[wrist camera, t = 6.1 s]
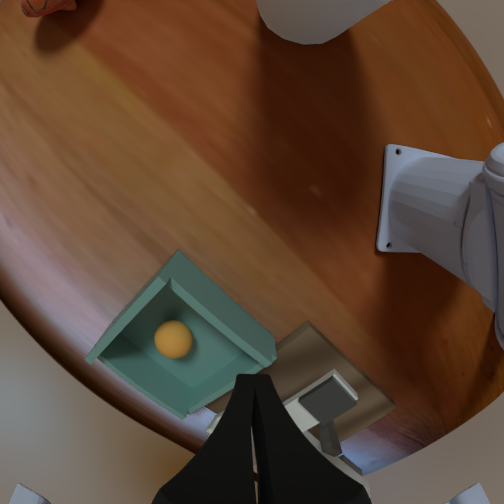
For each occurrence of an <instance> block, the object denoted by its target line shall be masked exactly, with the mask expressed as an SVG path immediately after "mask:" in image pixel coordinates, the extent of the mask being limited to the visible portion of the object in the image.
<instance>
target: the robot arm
mask: <svg viewBox="0 0 504 504" xmlns="http://www.w3.org/2000/svg"><path fill="white" fill-rule="evenodd" d="M396 149H398V150H399V154H398V155H397V154H396ZM389 242H390V246H389V247H386V245H387V243H389ZM376 247H377V249H378V250H379V251H381V252H414V253H422V254H423V255H425V256H427V257H428V258H430V259H431V260H433V261H434V262H436V263H437V264H439V265H440V266H442V267H443V268H445V269H446V270H448V271H449V272H451V273H452V274H454V275H455V276H456V277H458V278H459V279H461V280H462V281H464V282H465V283H466V284H468V285H469V286H471V287H472V288H474V289H475V290H476V291H478V292H479V293H480V294H481V296H482V299H483V304H484V305H486V306H487V307H488V308H489V309H491V310H492V311H493V312H494V313H495V333H496V336H497V340H498V342H499V344H500V346H501V347H502V348H503V350H504V142H503V143H501V144H499V145H498V146H496V147H495V148H494V149H493V150H492V151H491V153H490V155H489V157H488V158H487V159H486V160H485V162H482V161H473V160H464V159H456V158H452V157H448V156H444V155H440V154H436V153H432V152H428V151H424V150H419V149H415V148H410V147H405V146H400V145H395V144H388V145H387V146H386V147H385V156H384V174H383V188H382V199H381V209H380V218H379V227H378V234H377V242H376ZM251 426H252V435H253V442H254V450H255V457H256V465H257V483H258V504H372V503H371V500H370V497H369V495H368V493H367V491H366V489H365V487H364V486H363V485H362V484H360V483H359V482H357V481H356V480H354V479H352V478H351V477H350V476H348V475H347V474H345V473H344V472H343V471H341V470H340V469H339V468H337V467H336V466H335V465H334V464H332V463H331V462H330V461H329V460H328V459H327V458H326V457H325V456H324V455H322V454H321V453H320V452H319V451H318V450H317V449H316V448H315V447H314V446H313V445H312V443H311V442H310V441H309V440H308V439H307V438H306V437H305V435H304V434H303V433H302V432H301V430H300V429H299V428H298V426H297V425H296V423H295V422H294V421H293V419H292V418H291V416H290V415H289V413H288V411H287V410H286V408H285V406H284V404H283V403H282V401H281V399H280V397H279V395H278V393H277V391H276V389H275V387H274V384H273V382H272V379H271V376H270V375H269V374H238V375H236V381H235V385H234V389H233V392H232V394H231V397H230V399H229V402H228V404H227V406H226V409H225V411H224V413H223V414H222V416H221V418H220V420H219V422H218V424H217V425H216V427H215V429H214V430H213V432H212V433H211V435H210V436H209V438H208V439H207V441H206V442H205V443H204V445H203V446H202V447H201V449H200V450H199V451H198V452H197V454H196V455H195V456H194V457H193V458H192V459H191V460H190V461H189V462H188V463H187V465H186V466H185V467H184V468H183V469H182V470H181V471H180V472H179V473H178V474H176V475H175V476H174V477H173V478H172V479H171V480H170V481H168V482H167V483H166V484H165V485H163V486H162V487H161V488H160V489H159V491H158V492H157V494H156V496H155V498H154V499H153V501H152V504H257V503H256V493H255V483H254V469H253V454H252V435H251ZM9 504H51V503H50V502H49V501H48V500H47V499H45V498H44V497H43V496H41V495H39V494H38V493H36V492H34V491H32V490H30V489H29V488H27V487H25V486H24V485H22V484H21V483H18V485H17V487H16V489H15V491H14V493H13V496H12V498H11V500H10V503H9ZM445 504H490V502H489V500H488V498H487V496H486V494H485V492H484V490H483V488H482V486H481V484H480V483H479V482H477V483H476V484H474V485H472V486H471V487H469V488H467V489H465V490H464V491H462V492H460V493H459V494H457V495H456V496H455V497H453V498H452V499H451V500H450V501H449V502H447V503H445Z"/></svg>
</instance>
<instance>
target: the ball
mask: <svg viewBox="0 0 504 504" xmlns="http://www.w3.org/2000/svg"><path fill="white" fill-rule="evenodd" d="M154 341H155V345H156V348H157V349H158V351H159V352H160V353H161V354H162V355H164V356H165V357H168V358H172V359H177V358H181V357H183V356H185V355H186V354H187V353H188V352H189V351H190V350H191V348H192V345H193V336H192V333H191V331H190V329H189V328H188V327H187V326H186V325H185V324H184V323H182V322H180V321H176V320H170V321H166V322H164V323H162V324H161V325H160V326H159V327H158V328H157V330H156V332H155V336H154Z"/></svg>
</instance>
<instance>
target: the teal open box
mask: <svg viewBox="0 0 504 504" xmlns="http://www.w3.org/2000/svg"><path fill="white" fill-rule="evenodd" d="M170 320H176V321H180V322H182V323H184V324H185V325H186V326H187V327H188V328H189V329H190V331H191V333H192V336H193V345H192V348H191V350H190V351H189V352H188V353H187V354H186V355H185V356H183V357H181V358H177V359H172V358H168V357H165V356H164V355H162V354H161V353H160V352H159V351H158V349H157V348H156V345H155V341H154V336H155V332H156V330H157V328H158V327H159V326H160V325H161V324H162V323H164V322H166V321H170ZM96 358H98V359H99V360H100V361H101V362H102V363H103V364H105V365H106V366H107V367H108V368H110V369H111V370H112V371H113V372H115V373H116V374H117V375H118V376H120V377H121V378H122V379H123V380H125V381H126V382H127V383H129V384H130V385H131V386H133V387H134V388H135V389H137V390H138V391H140V392H141V393H142V394H144V395H145V396H147V397H148V398H150V399H151V400H152V401H154V402H155V403H157V404H158V405H160V406H161V407H163V408H164V409H166V410H168V411H169V412H171V413H172V414H174V415H175V416H177V417H179V418H180V419H184V418H186V416H187V414H189V415H190V414H191V413H193V412H195V411H197V410H198V409H200V408H202V407H203V406H205V405H207V404H208V403H210V402H212V401H213V400H215V399H217V398H218V397H220V396H222V395H223V394H225V393H226V392H228V391H230V390H231V389H233V388H234V385H235V381H236V375H238V374H256V373H257V372H259V371H260V370H262V369H263V368H264V367H268V366H269V365H271V364H272V362H273V361H275V360H276V359H277V355H276V348H275V340H274V335H273V334H271V333H270V332H269V331H268V330H267V329H266V328H264V327H263V326H262V325H261V324H260V323H259V322H258V321H256V320H255V319H254V318H253V317H252V316H251V315H250V314H248V313H247V312H246V311H245V310H244V309H243V308H242V307H241V306H239V305H238V304H237V303H236V302H235V301H234V300H233V299H232V298H230V297H229V296H228V295H227V294H226V293H225V292H224V291H223V290H222V289H221V288H219V287H218V286H217V285H216V284H215V283H214V282H213V281H212V280H211V279H210V278H209V277H208V276H206V275H205V274H204V273H203V272H202V271H201V270H200V269H199V268H198V267H197V266H196V265H195V264H194V263H193V262H191V261H190V260H189V259H188V258H187V257H186V256H185V255H184V254H183V253H182V252H181V251H180V250H179V249H178V250H177V251H176V252H175V253H174V254H173V256H172V257H171V258H170V259H169V260H168V261H167V262H166V263H165V264H164V265H163V266H162V267H161V268H160V269H159V270H158V271H157V273H156V274H155V275H154V276H153V277H152V278H151V279H150V280H149V281H148V282H147V283H146V284H145V286H144V287H143V288H142V289H141V290H140V291H139V292H138V293H137V294H136V295H135V297H134V298H133V299H132V300H131V301H130V302H129V303H128V304H127V306H126V307H125V308H124V309H123V310H122V311H121V312H120V313H119V315H118V316H117V317H116V318H115V319H114V320H113V321H112V323H111V324H110V325H109V326H108V328H107V329H106V330H105V332H104V333H103V334H102V336H101V337H100V338H99V340H98V341H97V343H96V344H95V345H94V347H93V348H92V350H91V351H90V352H89V354H88V355H87V357H86V358H85V360H86V361H87V362H88V363H89V364H92V362H93V361H94V360H95V359H96Z"/></svg>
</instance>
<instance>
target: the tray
mask: <svg viewBox="0 0 504 504" xmlns="http://www.w3.org/2000/svg"><path fill="white" fill-rule="evenodd" d="M357 399H358V395H357V393H356V392H355V391H354V389H353V388H352V387H351V386H350V385H349V384H348V383H347V382H346V381H345V380H344V378H343V377H342V376H341V375H340V374H339V373H338V372H337V371H336V370H335V369H333V370H331V371H330V372H329V373H327V374H326V375H324V376H323V377H321V378H320V379H318V380H317V381H315V382H314V383H312V384H311V385H309V386H308V387H306V388H305V389H303V390H302V391H300V392H299V393H297V394H295V395H294V396H292V397H291V398H289V399H287V400H286V401H284V402H282V403H283V404H284V406H285V408H286V410H287V411H288V413H289V415H290V416H291V418H292V419H293V421H294V422H295V423H296V425H297V426H298V428H299V429H300V430H301V432H302V433H303V434H304V435H305V437H306V438H307V439H308V440H309V441H310V442H311V443H312V445H313V446H314V447H315V448H316V449H317V450H318V451H319V452H320V453H321V454H322V455H324V456H325V457H326V458H327V459H328V460H329V461H330V462H331V463H332V464H334V465H335V466H336V467H337V468H339V469H340V470H341V471H343V472H344V473H345V474H347V475H348V476H350V477H351V478H352V479H354V480H356V481H357V482H359V483H360V484H362V485H363V486H364V487H365V489H366V491H367V493H368V495H369V497H371V496H370V486H369V482H368V481H367V480H366V479H364V478H363V477H362V470H361V469H360V468H359V467H357V466H356V465H355V464H354V463H353V462H351V461H350V460H349V459H348V458H347V457H345V456H344V455H342V456H340V457H337V456H336V457H333V456H331V455H328V454H326V453H324V451H323V446H322V443H321V442H320V441H318V440H317V439H316V438H315V437H314V436H313V435H312V434H311V433H309V432H308V431H307V430H308V429H310V428H311V427H313V426H315V425H317V424H319V423H321V424H322V425H325V424H327V423H328V422H330V421H332V420H333V419H335V418H337V417H338V416H340V415H342V414H343V413H345V412H346V411H348V410H350V409H351V408H353V407H354V406H356V405H357V403H356V400H357ZM224 411H225V410H224ZM224 411H222V412H221V413H219V414H217V415H215V416H214V418H213V420H212V421H211V423H210V425H209V426H208V428H207V430H206V431H207V432H208V433H209V434H210V435H211V433H212V432H213V430H214V429H215V427H216V425H217V424H218V422H219V420H220V418H221V416H222V414H223V413H224ZM251 435H252V426H251ZM252 454H253V469H254V472H256V473H257V465H256V457H255V450H254V442H253V435H252Z"/></svg>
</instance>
